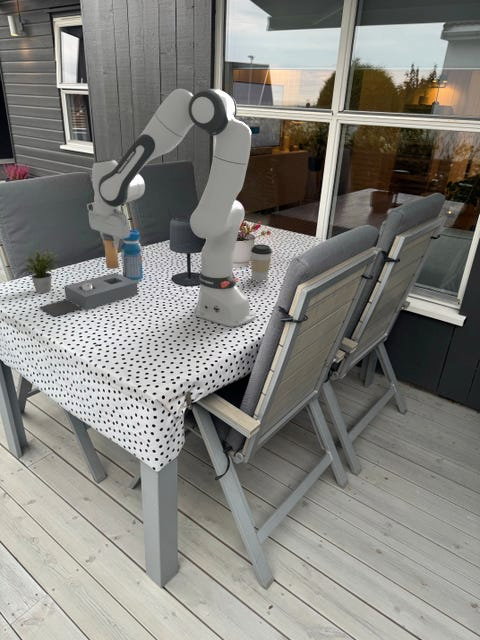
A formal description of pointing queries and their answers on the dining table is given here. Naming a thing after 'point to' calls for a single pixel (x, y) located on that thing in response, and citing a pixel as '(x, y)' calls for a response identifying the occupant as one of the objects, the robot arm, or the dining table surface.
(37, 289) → the house plant
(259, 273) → the coffee cup
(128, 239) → the beverage bottle
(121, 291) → the housing
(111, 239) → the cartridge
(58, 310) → the mat
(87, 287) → the plunger
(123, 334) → the dining table surface
